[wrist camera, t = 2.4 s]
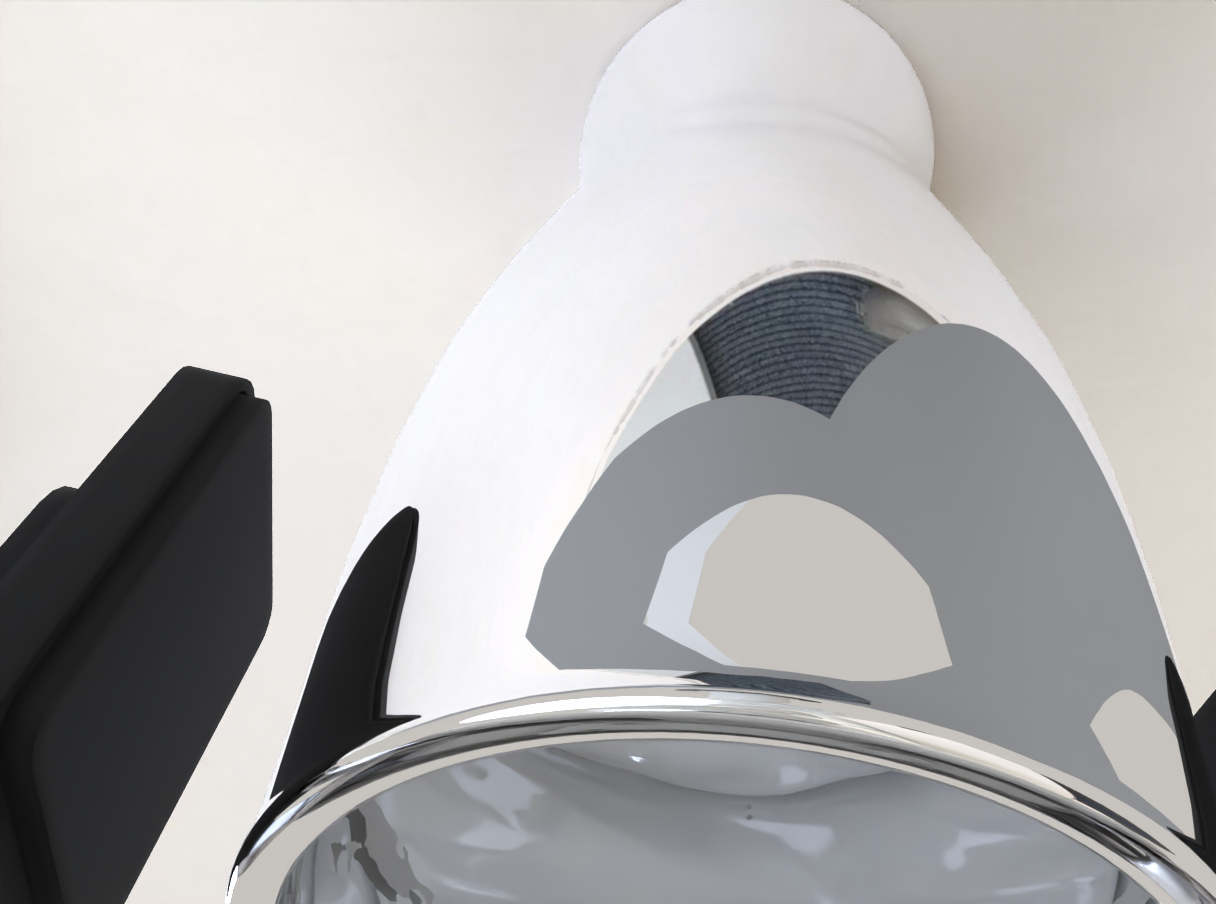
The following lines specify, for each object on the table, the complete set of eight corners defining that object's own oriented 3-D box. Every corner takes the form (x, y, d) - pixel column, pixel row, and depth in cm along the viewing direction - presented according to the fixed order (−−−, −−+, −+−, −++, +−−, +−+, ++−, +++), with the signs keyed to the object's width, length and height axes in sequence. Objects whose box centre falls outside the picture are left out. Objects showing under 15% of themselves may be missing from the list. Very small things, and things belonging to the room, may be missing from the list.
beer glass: (495, 223, 20) (89, 1047, 8) (684, -143, 16) (427, 431, 4) (804, 391, 21) (841, 1310, 10) (1049, 92, 17) (1638, 1033, 6)
